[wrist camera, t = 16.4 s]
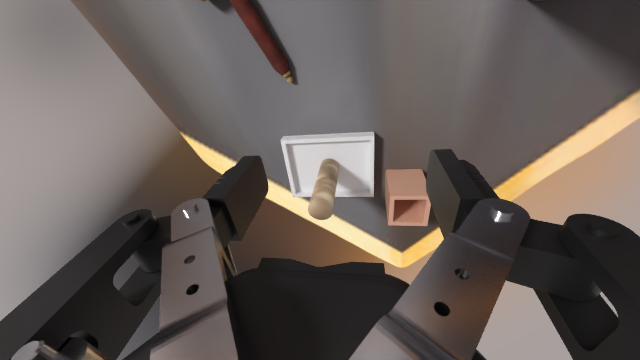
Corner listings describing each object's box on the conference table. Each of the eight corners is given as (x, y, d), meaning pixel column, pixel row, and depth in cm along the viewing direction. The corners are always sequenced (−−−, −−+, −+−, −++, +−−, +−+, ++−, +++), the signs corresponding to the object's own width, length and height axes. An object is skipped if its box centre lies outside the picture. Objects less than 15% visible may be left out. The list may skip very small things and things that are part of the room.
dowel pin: (338, 158, 49) (331, 200, 37) (339, 174, 51) (333, 219, 39) (319, 158, 50) (306, 200, 38) (321, 175, 52) (309, 219, 40)
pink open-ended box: (421, 169, 48) (432, 195, 41) (417, 196, 52) (427, 225, 45) (385, 169, 50) (390, 196, 42) (384, 196, 53) (388, 225, 46)
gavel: (313, 69, 38) (266, 100, 42) (316, 63, 42) (273, 92, 46) (219, -93, 29) (169, -34, 33) (234, -83, 32) (187, -30, 36)
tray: (373, 131, 46) (374, 135, 44) (373, 191, 53) (373, 196, 51) (283, 136, 49) (280, 140, 47) (294, 191, 56) (292, 197, 55)
